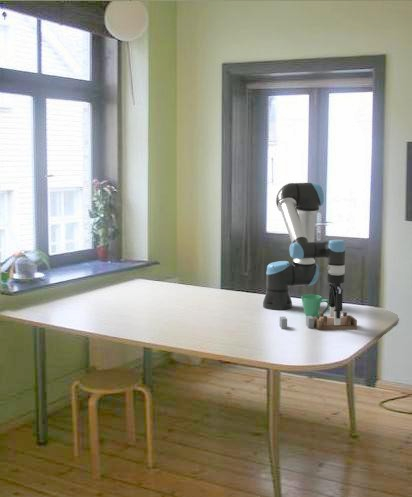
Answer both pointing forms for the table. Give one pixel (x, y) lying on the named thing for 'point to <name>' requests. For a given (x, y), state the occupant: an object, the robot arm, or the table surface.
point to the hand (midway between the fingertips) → (334, 322)
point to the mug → (313, 304)
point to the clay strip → (331, 320)
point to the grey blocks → (308, 322)
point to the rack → (350, 325)
